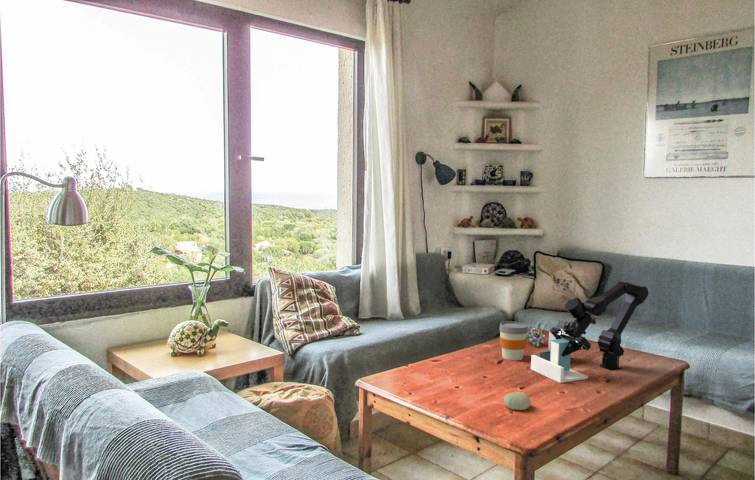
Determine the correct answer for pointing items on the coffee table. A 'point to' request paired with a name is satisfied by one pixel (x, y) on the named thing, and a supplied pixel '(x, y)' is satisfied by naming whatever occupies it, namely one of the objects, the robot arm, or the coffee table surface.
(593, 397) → the coffee table surface
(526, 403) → the sea urchin shell
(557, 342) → the teal rectangular block
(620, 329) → the robot arm
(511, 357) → the reusable coffee cup
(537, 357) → the shelf
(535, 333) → the passion flower
